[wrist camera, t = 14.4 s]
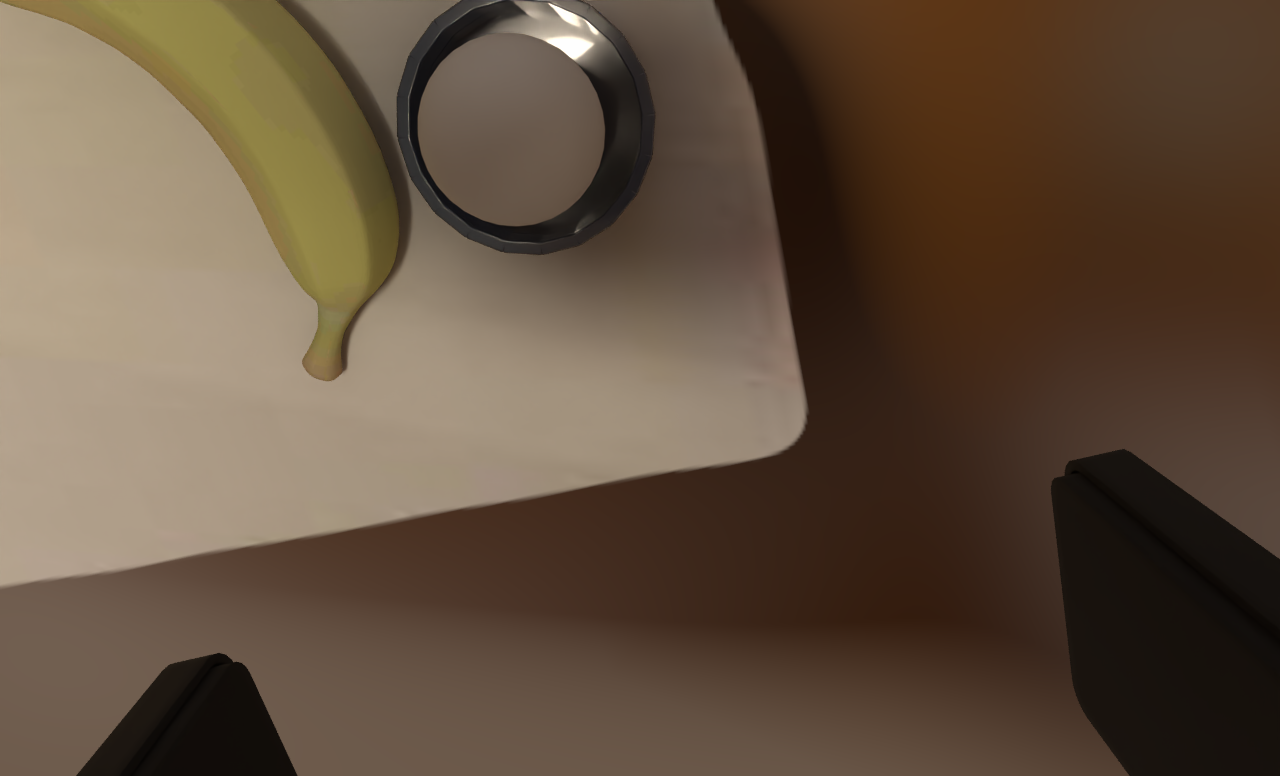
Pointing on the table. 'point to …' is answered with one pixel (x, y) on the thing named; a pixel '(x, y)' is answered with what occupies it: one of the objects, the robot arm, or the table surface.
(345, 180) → the banana
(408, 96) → the dark grey round bowl
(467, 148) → the lightbulb
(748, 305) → the table surface
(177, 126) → the table surface
